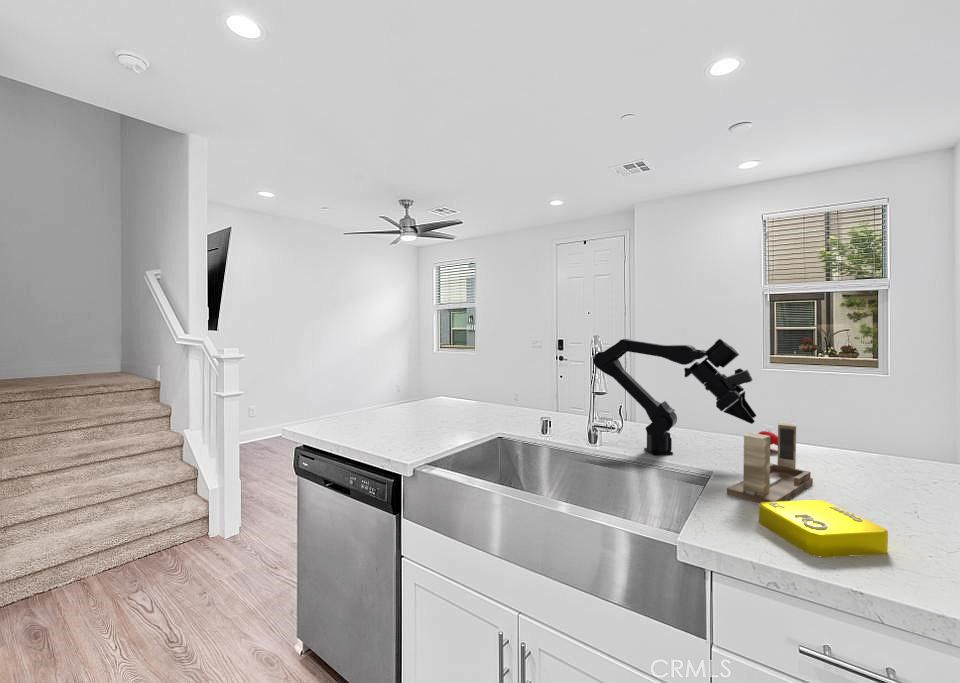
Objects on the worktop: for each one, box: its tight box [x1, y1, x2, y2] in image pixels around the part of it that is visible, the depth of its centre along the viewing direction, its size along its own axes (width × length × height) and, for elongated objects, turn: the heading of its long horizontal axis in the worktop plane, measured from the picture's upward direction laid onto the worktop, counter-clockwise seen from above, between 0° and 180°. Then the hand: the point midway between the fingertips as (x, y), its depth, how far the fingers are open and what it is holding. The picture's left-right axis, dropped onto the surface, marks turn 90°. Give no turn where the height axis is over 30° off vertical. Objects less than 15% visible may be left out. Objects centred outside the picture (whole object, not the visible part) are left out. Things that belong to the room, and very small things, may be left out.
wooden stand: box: [726, 432, 814, 505], centre depth 109 cm, size 24×10×14 cm, turn 127°
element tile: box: [758, 499, 889, 558], centre depth 85 cm, size 15×15×5 cm
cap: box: [757, 430, 778, 447], centre depth 142 cm, size 8×6×6 cm
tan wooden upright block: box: [777, 421, 797, 469], centre depth 122 cm, size 5×4×13 cm
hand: (754, 419), depth 126 cm, fingers open, 9 cm apart
